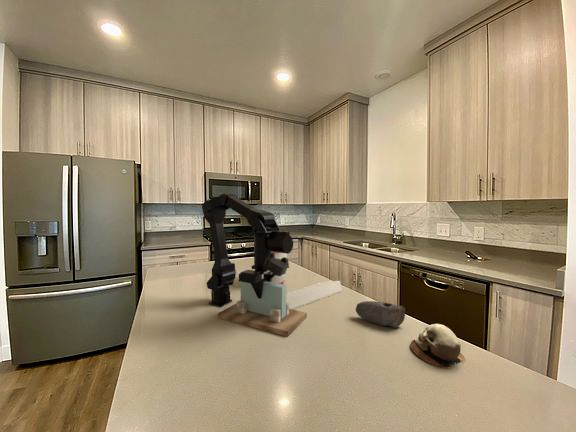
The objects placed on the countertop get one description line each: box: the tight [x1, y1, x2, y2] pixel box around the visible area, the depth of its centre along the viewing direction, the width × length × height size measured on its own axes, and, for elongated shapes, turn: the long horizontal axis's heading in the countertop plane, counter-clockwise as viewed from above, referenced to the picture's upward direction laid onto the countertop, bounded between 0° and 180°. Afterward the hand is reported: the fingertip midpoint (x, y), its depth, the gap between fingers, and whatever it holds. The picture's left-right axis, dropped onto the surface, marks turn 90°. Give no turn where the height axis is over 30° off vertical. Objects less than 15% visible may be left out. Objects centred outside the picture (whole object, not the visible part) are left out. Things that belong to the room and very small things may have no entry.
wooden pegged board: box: [217, 300, 308, 338], centre depth 82 cm, size 26×14×5 cm, turn 63°
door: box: [240, 281, 287, 319], centre depth 81 cm, size 16×3×10 cm, turn 63°
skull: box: [410, 323, 467, 370], centre depth 62 cm, size 12×10×10 cm
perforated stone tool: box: [355, 300, 406, 329], centre depth 78 cm, size 15×5×7 cm, turn 54°
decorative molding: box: [286, 280, 343, 310], centre depth 100 cm, size 34×5×10 cm
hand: (262, 296), depth 81 cm, fingers open, 3 cm apart
